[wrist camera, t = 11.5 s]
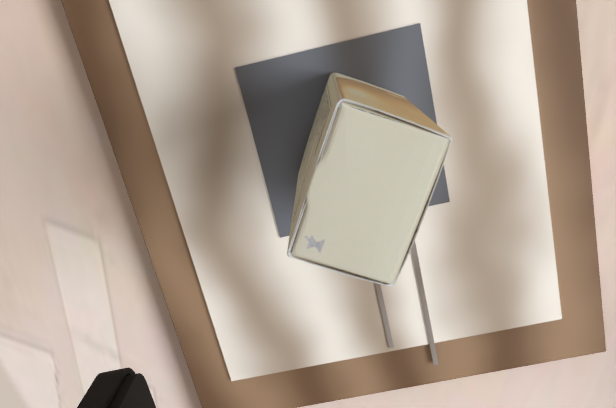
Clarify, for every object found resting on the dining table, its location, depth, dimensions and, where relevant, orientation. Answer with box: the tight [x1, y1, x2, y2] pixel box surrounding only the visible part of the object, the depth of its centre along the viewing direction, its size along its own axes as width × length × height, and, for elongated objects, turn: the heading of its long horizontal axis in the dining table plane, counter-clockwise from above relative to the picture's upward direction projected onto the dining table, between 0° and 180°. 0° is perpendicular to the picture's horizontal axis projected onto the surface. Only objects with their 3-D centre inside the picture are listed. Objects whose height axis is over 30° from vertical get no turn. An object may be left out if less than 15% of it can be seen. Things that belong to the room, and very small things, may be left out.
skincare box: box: [287, 73, 452, 287], centre depth 26 cm, size 6×4×12 cm
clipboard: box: [62, 0, 606, 408], centre depth 32 cm, size 26×34×3 cm
